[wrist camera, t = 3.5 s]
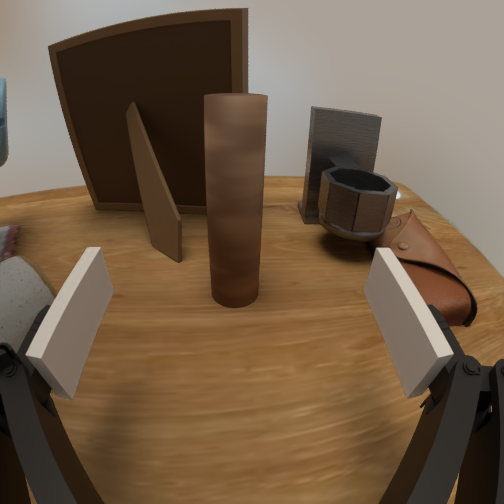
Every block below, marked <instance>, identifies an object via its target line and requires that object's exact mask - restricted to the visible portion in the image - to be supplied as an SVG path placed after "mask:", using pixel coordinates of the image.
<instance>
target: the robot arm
mask: <svg viewBox="0 0 504 504" xmlns="http://www.w3.org/2000/svg"><path fill="white" fill-rule="evenodd" d="M7 158H8V132H7V104H6V80H5V79H4V78H0V167H1V166H2V165H4V164H5V162H6V161H7ZM113 292H114V289H113V286H112V283H111V280H110V276H109V273H108V270H107V266H106V263H105V260H104V256H103V252H102V249H101V247H87V249H86V250H85V252H84V253H83V255H82V256H81V258H80V259H79V261H78V263H77V264H76V266H75V267H74V269H73V270H72V272H71V273H70V275H69V277H68V278H67V280H66V282H65V283H64V285H63V286H62V288H61V290H60V291H59V293H58V295H57V297H56V298H55V300H54V302H53V303H52V305H46V306H45V307H44V308H43V309H42V310H41V311H40V312H39V313H38V314H37V316H36V318H35V319H34V321H33V323H32V325H31V327H30V330H29V331H28V332H27V334H26V336H25V338H24V340H23V342H22V344H21V346H20V348H19V350H18V352H17V354H16V353H15V351H14V350H13V348H12V347H11V345H9V344H8V343H4V342H2V343H0V504H31V501H30V497H29V493H28V488H27V483H26V478H27V481H28V483H29V486H30V488H31V490H32V493H33V495H34V497H35V499H36V501H37V504H104V502H103V501H102V499H101V497H100V496H99V494H98V493H97V491H96V489H95V488H94V486H93V484H92V482H91V481H90V479H89V477H88V475H87V474H86V472H85V470H84V468H83V466H82V464H81V463H80V461H79V459H78V457H77V455H76V453H75V451H74V449H73V447H72V445H71V442H70V440H69V438H68V436H67V434H66V431H65V429H64V427H63V425H62V422H61V420H60V417H59V415H58V413H57V410H56V408H55V405H54V402H53V400H52V398H51V397H50V392H51V389H52V390H53V391H54V392H55V393H56V395H57V396H58V397H62V398H67V399H71V400H73V398H74V395H75V392H76V389H77V386H78V383H79V380H80V377H81V374H82V371H83V368H84V365H85V362H86V360H87V357H88V354H89V352H90V349H91V346H92V344H93V341H94V338H95V336H96V333H97V331H98V328H99V326H100V323H101V321H102V318H103V316H104V313H105V311H106V309H107V306H108V304H109V302H110V299H111V297H112V295H113ZM363 292H364V294H365V297H366V299H367V301H368V303H369V305H370V308H371V310H372V312H373V315H374V317H375V319H376V321H377V324H378V326H379V329H380V331H381V333H382V336H383V338H384V340H385V343H386V345H387V348H388V350H389V353H390V355H391V358H392V360H393V363H394V365H395V368H396V371H397V373H398V376H399V379H400V381H401V384H402V387H403V389H404V392H405V395H406V398H411V397H416V396H420V395H422V394H423V393H424V392H425V391H426V389H427V388H428V387H429V389H430V392H431V394H430V395H429V396H428V397H427V398H426V399H425V400H424V402H423V403H422V404H421V406H420V408H422V407H423V406H424V405H425V407H424V409H423V412H422V415H421V417H420V420H419V422H418V425H417V427H416V430H415V432H414V435H413V437H412V439H411V442H410V444H409V446H408V448H407V451H406V453H405V455H404V457H403V459H402V461H401V463H400V465H399V467H398V469H397V471H396V473H395V475H394V477H393V479H392V481H391V483H390V485H389V486H388V488H387V490H386V492H385V494H384V495H383V497H382V499H381V500H380V502H379V504H447V502H448V499H449V497H450V494H451V492H452V489H453V487H454V484H455V482H456V479H457V476H458V473H459V479H458V485H457V492H456V497H455V502H454V504H504V359H500V360H498V361H497V363H496V364H495V365H494V366H493V367H492V366H481V365H480V363H479V362H478V361H477V359H475V358H474V357H472V356H468V355H465V354H464V352H463V351H462V349H461V347H460V345H459V343H458V341H457V340H456V338H455V336H454V334H453V332H452V331H451V330H450V327H449V326H448V324H447V322H445V321H446V320H445V319H444V317H443V315H442V314H441V312H440V311H439V310H438V309H437V308H436V307H435V306H433V305H432V304H430V305H426V303H425V302H424V300H423V298H422V297H421V295H420V293H419V292H418V290H417V289H416V287H415V285H414V284H413V282H412V281H411V279H410V277H409V276H408V274H407V273H406V271H405V270H404V268H403V267H402V265H401V264H400V262H399V261H398V259H397V258H396V256H395V255H394V253H393V252H392V250H391V249H390V248H376V251H375V254H374V258H373V261H372V265H371V268H370V271H369V274H368V278H367V281H366V284H365V287H364V290H363ZM491 406H492V412H491ZM459 470H460V472H459ZM25 476H26V478H25Z"/></svg>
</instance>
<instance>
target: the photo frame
mask: <svg viewBox="0 0 504 504" xmlns="http://www.w3.org/2000/svg"><path fill="white" fill-rule="evenodd" d="M48 50H49V55H50V60H51V65H52V70H53V75H54V79H55V84H56V88H57V92H58V96H59V100H60V104H61V108H62V111H63V115H64V118H65V122H66V125H67V129H68V132H69V135H70V139H71V142H72V145H73V148H74V151H75V154H76V157H77V160H78V163H79V166H80V169H81V171H82V174H83V177H84V180H85V182H86V185H87V188H88V191H89V193H90V196H91V198H92V201H93V204H94V206H95V209H100V210H129V211H144V212H145V216H146V220H147V225H148V229H149V233H150V237H151V241H152V245H153V247H154V248H156V249H157V250H159V251H161V252H162V253H164V254H165V255H167V256H169V257H170V258H172V259H174V260H175V261H177V262H180V261H181V227H182V220H181V217H180V215H179V213H191V214H207V201H206V174H205V134H204V95H208V94H219V93H248V8H225V9H210V10H196V11H188V12H187V11H186V12H178V13H171V14H164V15H158V16H152V17H146V18H141V19H136V20H132V21H127V22H123V23H118V24H115V25H110V26H107V27H103V28H99V29H96V30H93V31H89V32H86V33H83V34H80V35H76V36H74V37H71V38H68V39H65V40H63V41H60V42H57V43H55V44H52V45H50V46H48Z"/></svg>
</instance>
